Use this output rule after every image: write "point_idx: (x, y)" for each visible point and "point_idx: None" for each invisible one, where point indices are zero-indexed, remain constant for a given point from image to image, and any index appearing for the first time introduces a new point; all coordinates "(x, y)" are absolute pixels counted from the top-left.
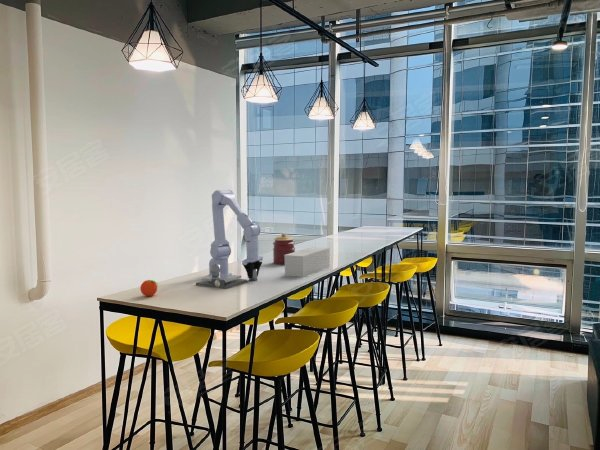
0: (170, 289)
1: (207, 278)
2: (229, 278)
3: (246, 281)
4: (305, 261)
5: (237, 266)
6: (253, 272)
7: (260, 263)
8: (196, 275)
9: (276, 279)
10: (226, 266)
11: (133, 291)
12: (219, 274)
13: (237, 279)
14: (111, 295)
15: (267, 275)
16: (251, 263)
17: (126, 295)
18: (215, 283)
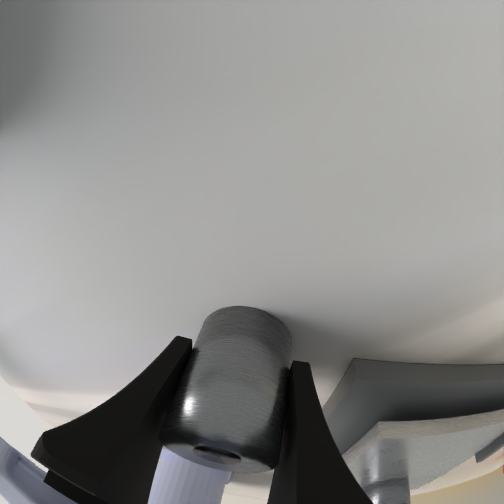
0: (463, 465)
1: (435, 478)
2: (474, 435)
3: (364, 365)
4: None
5: (47, 412)
6: (274, 414)
7: (84, 468)
8: (237, 490)
9: (105, 94)
10: (182, 496)
11: (457, 481)
12: (397, 489)
13: (355, 424)
14: (479, 476)
15: (34, 277)
16: (147, 500)
17: (490, 467)
18: None
